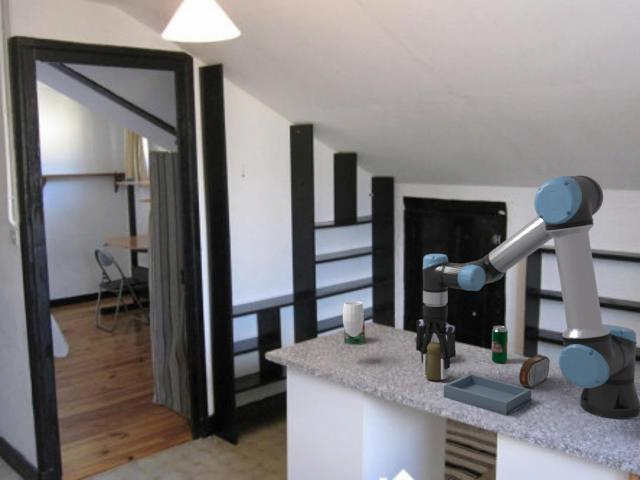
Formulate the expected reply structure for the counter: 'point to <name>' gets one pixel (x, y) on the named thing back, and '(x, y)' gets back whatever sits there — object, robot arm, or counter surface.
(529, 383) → the tin
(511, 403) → the tray
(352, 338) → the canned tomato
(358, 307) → the cup
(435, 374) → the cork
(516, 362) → the counter surface
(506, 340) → the soda can
